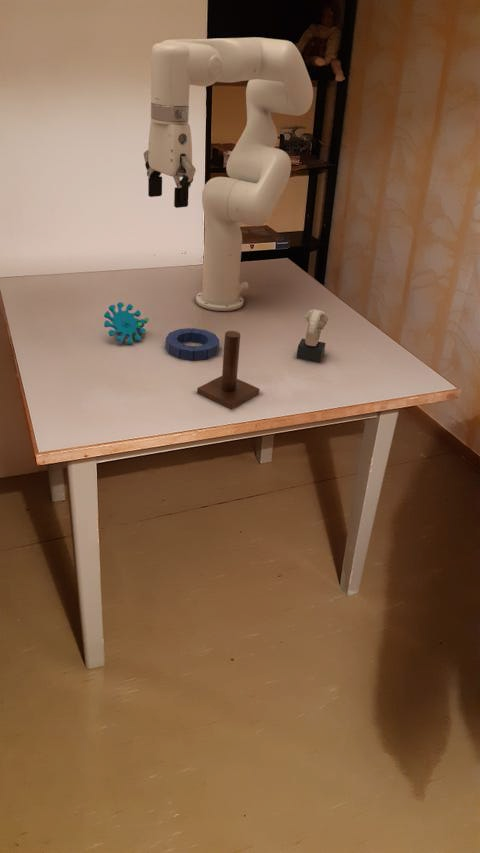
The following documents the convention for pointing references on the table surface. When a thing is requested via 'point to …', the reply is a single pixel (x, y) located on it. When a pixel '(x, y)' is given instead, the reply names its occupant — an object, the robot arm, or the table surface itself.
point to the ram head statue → (313, 337)
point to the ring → (192, 352)
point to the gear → (125, 323)
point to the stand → (229, 378)
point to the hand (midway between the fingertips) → (167, 201)
